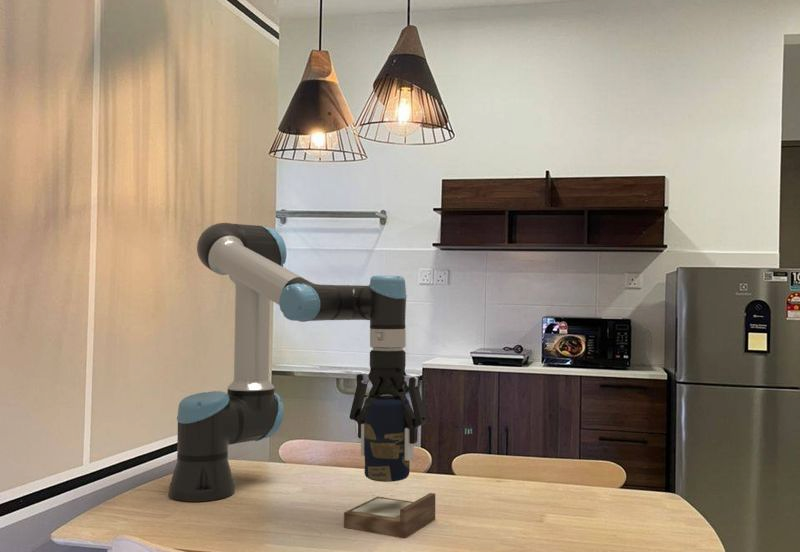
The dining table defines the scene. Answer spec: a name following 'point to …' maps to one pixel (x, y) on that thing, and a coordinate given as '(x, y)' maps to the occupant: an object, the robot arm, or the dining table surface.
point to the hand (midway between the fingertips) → (387, 456)
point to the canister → (385, 439)
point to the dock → (391, 516)
